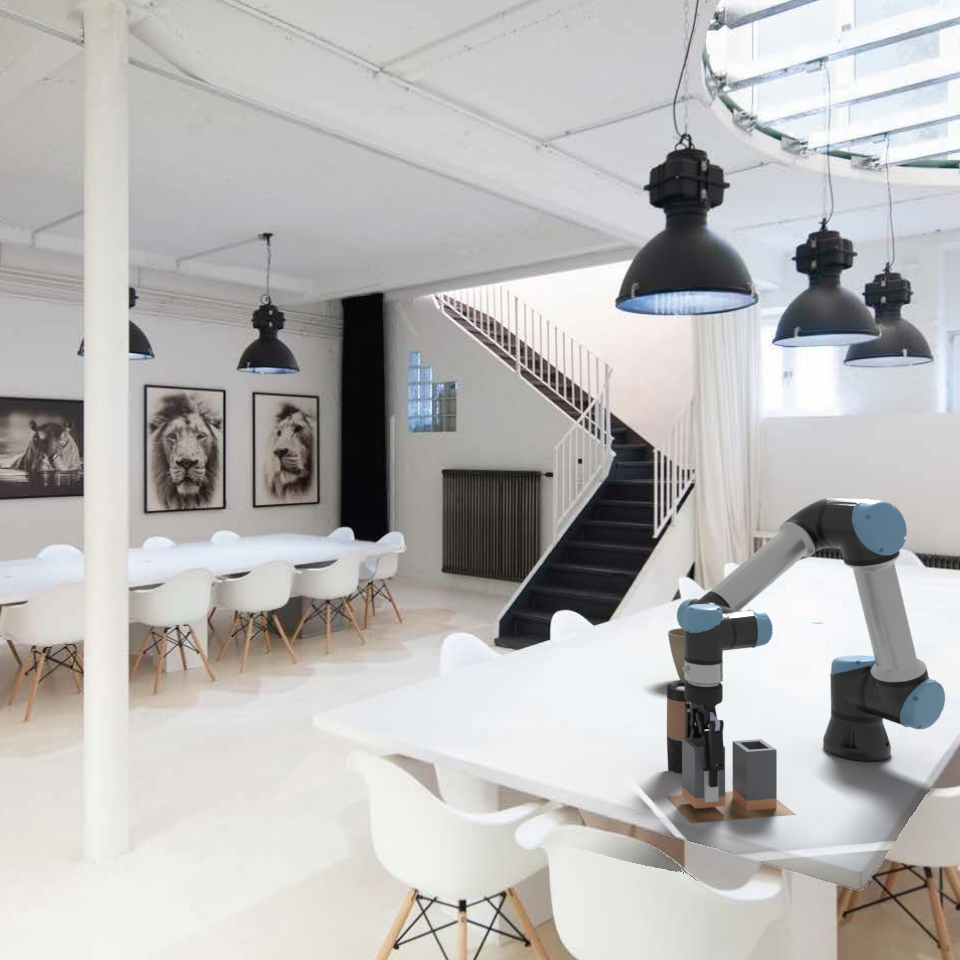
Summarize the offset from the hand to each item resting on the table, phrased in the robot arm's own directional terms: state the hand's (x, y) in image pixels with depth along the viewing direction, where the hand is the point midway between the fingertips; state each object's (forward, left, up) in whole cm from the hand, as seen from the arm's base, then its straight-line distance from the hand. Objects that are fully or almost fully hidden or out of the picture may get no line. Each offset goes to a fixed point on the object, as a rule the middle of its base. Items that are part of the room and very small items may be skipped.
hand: (703, 793), depth 172 cm
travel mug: (-4, -21, -4) cm, 22 cm away
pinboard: (-5, 0, -4) cm, 7 cm away
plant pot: (-37, -94, -4) cm, 101 cm away
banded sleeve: (0, 0, -1) cm, 1 cm away
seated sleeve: (-11, 0, -3) cm, 11 cm away
